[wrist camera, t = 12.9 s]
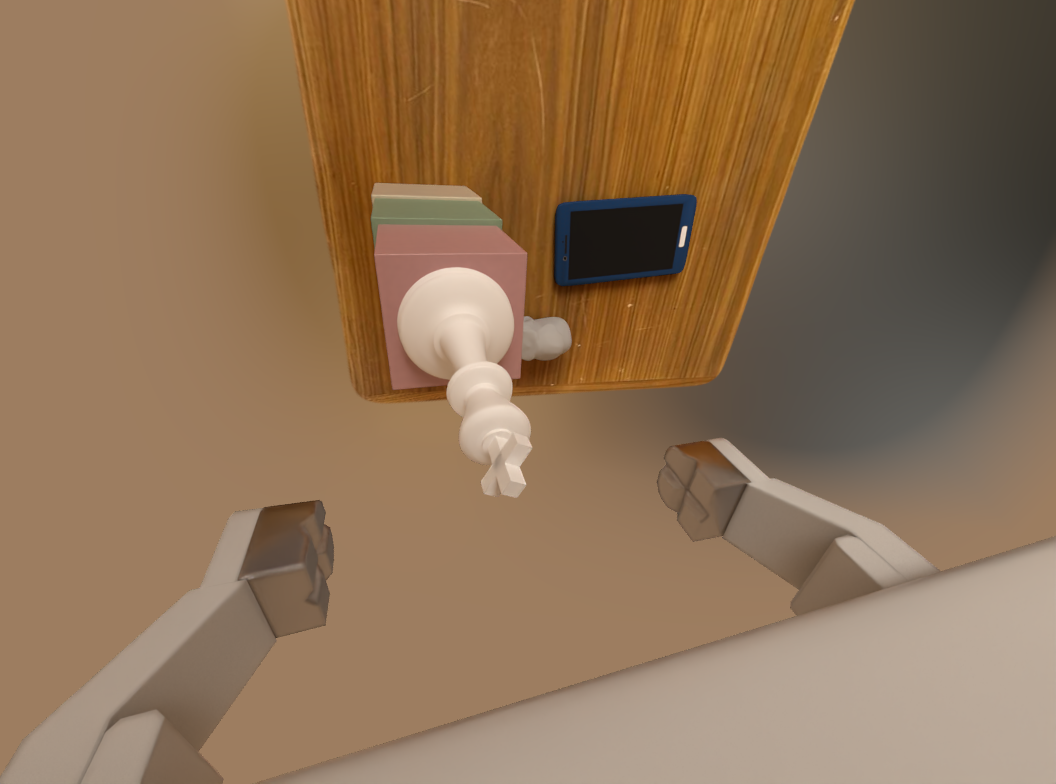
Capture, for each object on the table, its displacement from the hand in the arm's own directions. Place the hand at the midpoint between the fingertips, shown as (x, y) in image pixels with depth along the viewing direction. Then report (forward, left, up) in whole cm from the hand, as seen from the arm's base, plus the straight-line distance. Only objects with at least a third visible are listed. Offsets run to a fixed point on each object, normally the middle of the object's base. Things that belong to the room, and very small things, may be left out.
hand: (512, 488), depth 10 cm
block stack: (0, 0, -30) cm, 30 cm away
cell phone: (+8, +17, -30) cm, 35 cm away
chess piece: (0, 0, -10) cm, 10 cm away
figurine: (+12, +5, -30) cm, 33 cm away
